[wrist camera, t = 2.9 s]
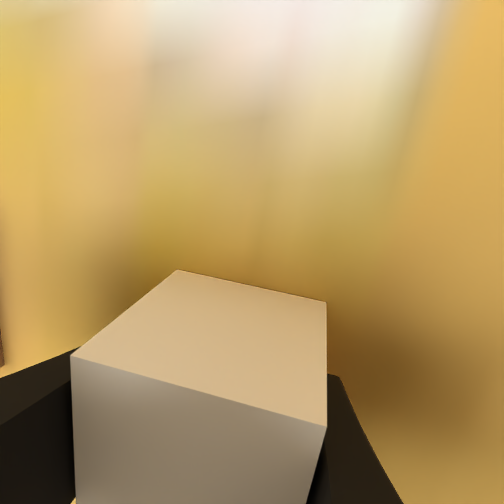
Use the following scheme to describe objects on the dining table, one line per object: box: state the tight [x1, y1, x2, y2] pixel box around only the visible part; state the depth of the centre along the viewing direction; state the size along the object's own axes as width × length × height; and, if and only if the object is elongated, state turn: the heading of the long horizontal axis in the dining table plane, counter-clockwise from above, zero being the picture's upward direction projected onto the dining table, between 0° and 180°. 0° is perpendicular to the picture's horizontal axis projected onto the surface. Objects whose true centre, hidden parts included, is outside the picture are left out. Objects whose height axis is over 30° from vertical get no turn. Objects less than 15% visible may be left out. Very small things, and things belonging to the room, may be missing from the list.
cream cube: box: [70, 269, 327, 504], centre depth 8 cm, size 4×4×4 cm
